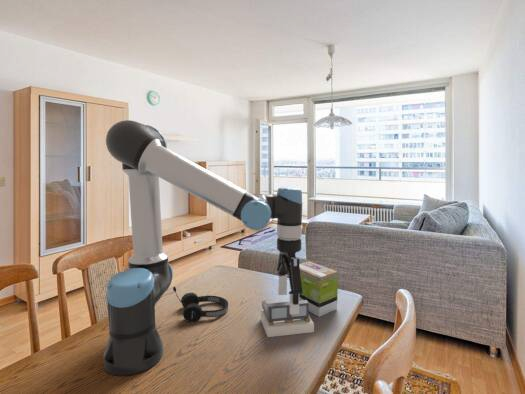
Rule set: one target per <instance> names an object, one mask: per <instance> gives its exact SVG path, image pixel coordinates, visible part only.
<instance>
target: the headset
mask: <svg viewBox="0 0 525 394" xmlns="http://www.w3.org/2000/svg"><path fill="white" fill-rule="evenodd" d="M176 288H177V287H176V286H173V287H172V289H173V291H174V292H175V295H176V297H177V299H178V301H179V302H180V303H181V305H182V307H183V312H182V316H183V318H184V320H186V321H187V322H197V321H199V320H200V319H201V318H204V317H205V318H215V317H216V318H218V317H221V316H224V315H225V314H226V313H228V310H229V309H228V308H229V301H228V300H227V299H226V298H223V297H221V296H218V295H217V296H216V295H200V296H198V295H197V294H196V293H194V292H187V293H184V294H183V296H181V299H180V298H179V296H178V294H177V289H176ZM203 302H204V303H205V302H208V303H209V302H211V303H216V304H220V305H221V306H222V307H221V308H218V309H214V310H204V309H203V308H202V306H201V305H200V303H203Z"/></svg>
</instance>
